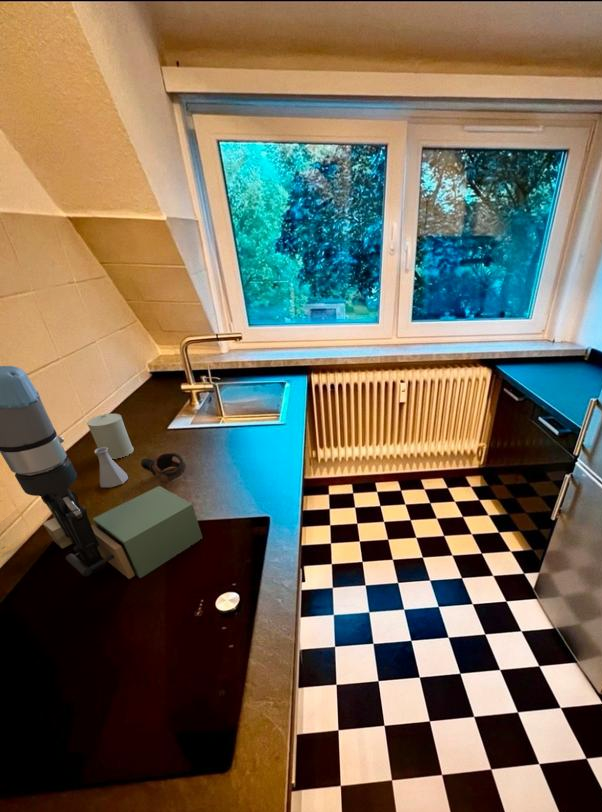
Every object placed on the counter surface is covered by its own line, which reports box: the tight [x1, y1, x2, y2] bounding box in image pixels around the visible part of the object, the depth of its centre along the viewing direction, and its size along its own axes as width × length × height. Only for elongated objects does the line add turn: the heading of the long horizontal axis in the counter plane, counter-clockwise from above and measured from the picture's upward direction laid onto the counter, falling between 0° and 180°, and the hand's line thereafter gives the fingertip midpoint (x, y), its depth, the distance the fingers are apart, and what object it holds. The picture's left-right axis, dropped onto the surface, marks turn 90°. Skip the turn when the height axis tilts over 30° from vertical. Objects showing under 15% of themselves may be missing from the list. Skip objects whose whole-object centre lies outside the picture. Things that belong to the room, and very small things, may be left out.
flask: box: [94, 447, 129, 488], centre depth 105 cm, size 7×7×10 cm
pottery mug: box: [140, 451, 188, 485], centre depth 108 cm, size 12×10×8 cm
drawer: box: [65, 524, 136, 580], centre depth 79 cm, size 19×11×8 cm, turn 145°
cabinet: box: [92, 485, 204, 579], centre depth 83 cm, size 15×13×10 cm
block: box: [42, 517, 73, 549], centre depth 86 cm, size 5×5×5 cm
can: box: [86, 413, 135, 460], centre depth 119 cm, size 9×9×12 cm
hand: (97, 567), depth 76 cm, fingers closed
